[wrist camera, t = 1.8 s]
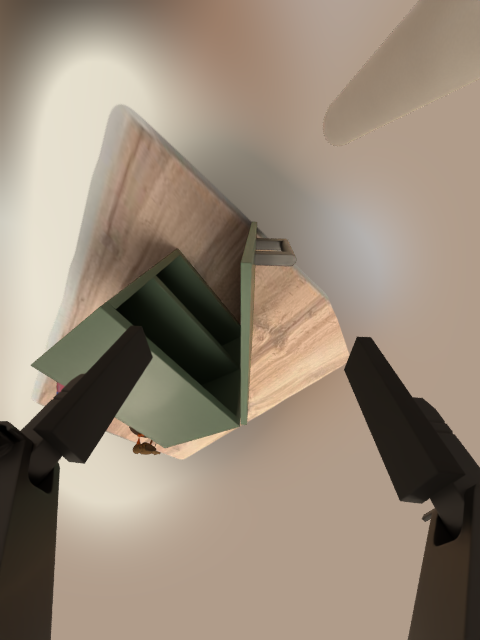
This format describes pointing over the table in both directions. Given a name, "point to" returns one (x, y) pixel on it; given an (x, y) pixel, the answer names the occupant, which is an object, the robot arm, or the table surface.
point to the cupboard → (165, 354)
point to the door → (247, 296)
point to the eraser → (59, 387)
